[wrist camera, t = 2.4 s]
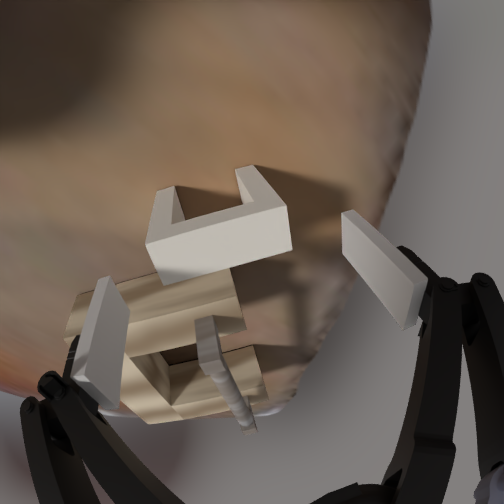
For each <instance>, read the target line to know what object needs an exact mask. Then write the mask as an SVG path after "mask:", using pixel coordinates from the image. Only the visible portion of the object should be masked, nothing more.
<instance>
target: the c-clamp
mask: <svg viewBox="0 0 504 504" xmlns="http://www.w3.org/2000/svg"><path fill="white" fill-rule="evenodd" d="M115 286H116V287H117V289H118V291H119V293H120V295H121V296H122V298H123V300H124V302H125V303H126V305H127V307H128V308H129V310H130V317H129V323H128V330H127V336H126V344H125V351H124V359H123V368H122V378H121V389H120V400H121V401H122V402H123V403H124V404H126V405H127V406H128V407H129V408H130V409H131V410H132V411H133V412H134V413H136V414H137V415H138V416H139V417H140V418H141V419H143V420H144V421H145V422H146V423H147V424H155V423H163V422H170V421H175V420H182V419H188V418H194V417H199V416H204V415H209V414H214V413H219V412H223V411H228V410H231V411H232V412H233V414H234V416H235V417H236V419H237V420H238V422H239V423H240V426H241V430H242V432H243V433H244V435H249V434H253V433H257V432H258V431H257V427H256V424H255V420H254V416H253V412H252V408H251V405H252V404H256V403H260V402H263V401H267V400H269V397H268V394H267V391H266V387H265V384H264V381H263V377H262V374H261V371H260V367H259V364H258V361H257V357H256V354H255V351H254V348H253V345H252V346H249V347H245V348H242V349H238V350H234V351H230V352H227V353H223V354H222V350H221V345H220V339H219V337H222V336H225V335H229V334H233V333H236V332H240V331H244V330H247V328H246V325H245V321H244V317H243V314H242V310H241V307H240V303H239V299H238V296H237V292H236V288H235V285H234V281H233V278H232V274H231V271H230V268H227V269H223V270H220V271H216V272H212V273H209V274H205V275H201V276H198V277H194V278H191V279H187V280H183V281H180V282H176V283H172V284H169V285H165V286H164V285H163V283H162V281H161V279H160V277H159V275H158V273H154V274H150V275H147V276H143V277H140V278H136V279H133V280H129V281H126V282H122V283H119V284H115ZM94 291H95V290H94ZM94 291H91V292H87V293H84V294H80V295H77V297H76V300H75V303H74V306H73V309H72V311H71V314H70V317H69V320H68V324H67V327H66V330H65V333H64V336H63V339H64V341H65V342H66V343H67V344H68V345H69V347H70V346H71V343H72V341H73V340H74V338H75V337H76V335H80V334H81V332H82V329H83V325H84V322H85V318H86V315H87V312H88V309H89V306H90V303H91V300H92V297H93V294H94ZM194 343H197V352H198V360H194V361H190V362H185V363H181V364H176V365H172V366H169V365H168V364H167V363H166V361H165V360H164V358H163V357H162V355H161V354H160V352H159V351H164V350H168V349H173V348H177V347H181V346H186V345H190V344H194Z"/></svg>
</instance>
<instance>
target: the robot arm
mask: <svg viewBox="0 0 504 504" xmlns="http://www.w3.org/2000/svg"><path fill="white" fill-rule="evenodd" d="M341 218H342V254H343V255H344V256H345V257H346V259H347V260H348V261H349V262H350V263H351V265H352V266H353V267H354V268H355V270H356V271H357V272H358V273H359V274H360V276H361V277H362V278H363V279H364V281H365V282H366V283H367V284H368V286H369V287H370V288H371V289H372V291H373V292H374V293H375V295H376V296H377V297H378V298H379V300H380V301H381V302H382V304H383V305H384V306H385V307H386V309H387V310H388V311H389V313H390V314H391V315H392V317H393V318H394V319H395V320H396V322H397V323H398V325H399V326H400V327H401V329H402V330H405V329H407V328H409V327H411V326H413V325H415V324H416V321H417V319H418V315H419V317H420V318H421V319H422V320H423V322H422V325H421V328H420V331H419V334H418V336H420V341H419V349H418V355H417V361H416V367H415V373H414V378H413V383H412V388H411V393H410V398H409V402H408V407H407V411H406V415H405V418H404V422H403V426H402V430H401V433H400V437H399V440H398V443H397V447H396V450H395V453H394V456H393V458H392V461H391V463H390V464H389V466H388V469H387V471H386V473H385V475H384V478H383V481H382V483H381V485H379V484H362V485H358V483H357V482H356V483H354V484H352V485H349V486H346V487H344V488H341V489H338V490H336V491H333V492H330V493H328V494H326V495H324V496H322V497H321V498H319V499H317V500H316V501H314V502H312V503H310V504H442V502H443V499H444V495H445V492H446V489H447V486H448V482H449V478H450V475H451V471H452V467H453V463H454V458H455V453H456V447H455V444H454V443H453V441H452V440H453V433H454V427H455V421H456V414H457V406H458V399H459V389H460V378H461V377H460V376H461V361H462V344H463V349H464V353H465V357H466V362H467V367H468V372H469V378H470V383H471V390H472V396H473V403H474V411H475V421H476V431H477V446H478V462H479V471H480V476H481V481H480V482H479V484H478V486H477V488H476V490H475V491H474V498H475V499H476V503H475V504H504V302H503V300H502V297H501V295H500V293H499V291H498V289H497V286H496V285H495V282H494V281H493V279H492V278H491V277H490V276H489V275H487V274H484V273H475V274H474V275H473V276H472V278H471V281H470V282H469V283H461V284H458V283H457V282H455V281H454V280H453V279H451V278H447V277H441V278H440V277H439V276H438V275H437V274H436V273H435V272H434V271H433V270H432V269H431V268H430V267H429V266H428V265H427V264H426V263H424V262H422V260H421V259H420V258H419V257H417V255H416V254H415V253H414V252H413V251H411V250H410V249H408V248H406V247H404V246H399V247H395V246H394V245H393V244H392V243H391V242H389V241H388V240H387V239H386V238H385V237H384V236H383V235H382V234H381V233H380V232H378V231H377V230H376V229H375V228H374V227H373V226H372V225H371V224H369V223H368V222H367V221H366V220H365V219H364V218H362V217H361V216H360V215H359V214H358V213H357V212H355V211H354V210H350V211H346V212H342V213H341ZM129 317H130V310H129V308H128V307H127V305H126V303H125V302H124V300H123V298H122V296H121V295H120V293H119V291H118V289H117V287H116V286H115V284H114V282H113V280H112V278H111V277H110V276H107V277H103V278H100V279H98V282H97V285H96V288H95V291H94V294H93V297H92V300H91V303H90V306H89V309H88V312H87V315H86V318H85V322H84V325H83V329H82V332H81V334H80V335H76V337H75V338H74V340H73V341H72V343H71V346H70V349H69V353H68V357H67V360H66V364H65V368H64V372H63V376H62V377H61V376H60V375H59V374H58V373H57V372H56V371H48V372H46V373H45V374H44V375H43V376H42V377H41V378H40V380H39V382H38V387H37V388H38V392H39V393H40V394H41V395H43V396H44V397H45V398H46V399H44V400H42V401H40V402H39V401H38V400H37V399H36V398H35V397H33V396H30V397H27V398H26V399H25V400H24V401H23V403H22V404H21V407H20V417H21V425H22V431H23V438H24V443H25V448H26V454H27V458H28V463H29V467H30V472H31V476H32V479H33V483H34V487H35V490H36V493H37V497H38V500H39V503H40V504H101V503H100V501H99V499H98V497H97V495H96V493H95V491H94V488H93V486H92V484H91V481H90V479H89V477H88V474H87V471H86V469H85V466H84V464H83V461H84V462H85V464H86V466H87V467H88V468H89V470H90V471H91V473H92V474H93V476H94V477H95V478H96V480H97V481H98V482H99V484H100V485H101V487H102V488H103V489H104V490H105V492H106V493H107V494H108V496H109V497H110V498H111V499H112V500H113V502H114V503H115V504H185V503H184V502H182V500H180V499H179V498H178V497H177V496H176V495H175V494H174V493H172V492H171V491H170V490H169V489H168V488H167V487H166V486H165V485H164V484H163V483H162V482H161V481H160V480H159V479H158V478H157V477H156V476H155V475H154V474H153V473H151V471H150V470H149V469H148V468H147V467H146V466H145V465H144V464H143V463H142V462H141V461H140V460H139V459H138V458H137V456H136V455H135V454H134V453H133V452H132V451H131V450H130V449H129V447H127V445H126V444H125V443H124V442H123V441H122V439H121V438H120V437H119V436H118V434H117V433H116V432H115V431H114V430H113V428H112V427H111V426H110V425H109V423H108V422H107V421H106V419H105V418H104V417H103V415H102V414H101V413H100V412H99V411H98V404H99V405H100V406H101V407H103V408H104V409H105V410H112V409H119V401H120V389H121V378H122V368H123V359H124V351H125V344H126V336H127V330H128V323H129ZM82 460H83V461H82Z"/></svg>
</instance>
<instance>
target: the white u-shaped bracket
mask: <svg viewBox="0 0 504 504" xmlns="http://www.w3.org/2000/svg"><path fill="white" fill-rule="evenodd" d="M235 172H236V177H237V181H238V186H239V190H240V195H241V200H242V203H243V205H239V206H235V207H232V208H228V209H224V210H221V211H217V212H213V213H210V214H206V215H203V216H199V217H196V218H192V219H189V220H185V217H184V214H183V211H182V208H181V205H180V202H179V199H178V196H177V192H176V189H175V186H172V187H169V188H166V189H162V190H159V191H157V193H156V197H155V201H154V205H153V210H152V214H151V218H150V223H149V228H148V233H147V237H146V243H145V246H146V248H147V250H148V252H149V255H150V257H151V259H152V262H153V264H154V266H155V268H156V270H157V273H158V275H159V277H160V279H161V281H162V283H163V285H164V286H165V285H169V284H172V283H176V282H180V281H183V280H187V279H191V278H194V277H198V276H201V275H205V274H209V273H212V272H216V271H220V270H223V269H227V268H230V267H234V266H237V265H241V264H245V263H248V262H252V261H255V260H259V259H262V258H266V257H270V256H273V255H277V254H280V253H284V252H287V251H291V250H292V243H291V236H290V228H289V220H288V213H287V206H286V204H285V203H284V202H283V200H282V199H281V198H280V197H279V196H278V194H277V193H276V192H275V191H274V189H273V188H272V187H271V186H270V185H269V183H268V182H267V181H266V180H265V179H264V177H263V176H262V175H261V174H260V173H259V171H258V170H257V169H256V168H255V167H254V166H253V165H250V166H246V167H242V168H238V169H235Z"/></svg>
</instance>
